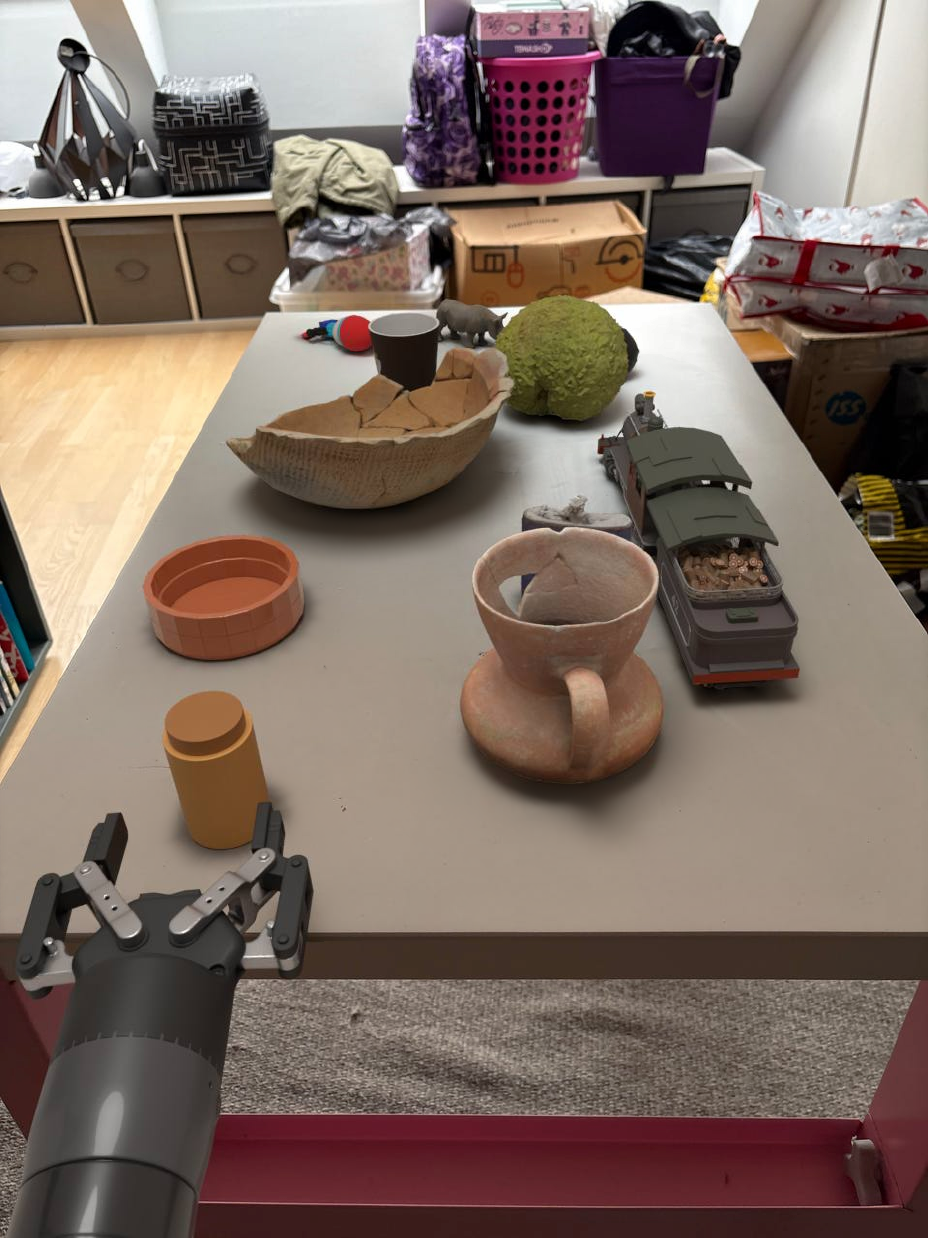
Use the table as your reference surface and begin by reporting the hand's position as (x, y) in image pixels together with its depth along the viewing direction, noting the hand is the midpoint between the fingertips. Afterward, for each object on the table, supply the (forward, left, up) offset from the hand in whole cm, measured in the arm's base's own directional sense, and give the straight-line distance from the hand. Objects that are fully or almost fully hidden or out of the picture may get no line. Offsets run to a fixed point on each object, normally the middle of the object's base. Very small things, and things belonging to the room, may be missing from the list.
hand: (192, 817), depth 56 cm
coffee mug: (+14, +77, -7) cm, 79 cm away
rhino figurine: (+24, +95, -7) cm, 98 cm away
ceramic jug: (+23, +12, -7) cm, 27 cm away
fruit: (+32, +70, -7) cm, 78 cm away
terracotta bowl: (-3, +31, -7) cm, 32 cm away
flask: (+27, +29, -7) cm, 40 cm away
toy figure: (+5, +99, -7) cm, 99 cm away
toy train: (+38, +37, -7) cm, 53 cm away
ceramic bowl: (+10, +54, -7) cm, 55 cm away
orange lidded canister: (0, +7, -7) cm, 10 cm away
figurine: (+40, +86, -7) cm, 96 cm away
